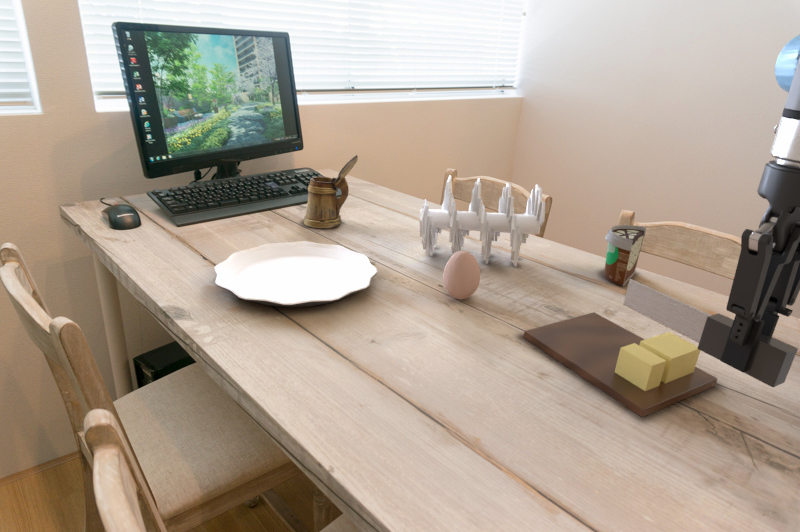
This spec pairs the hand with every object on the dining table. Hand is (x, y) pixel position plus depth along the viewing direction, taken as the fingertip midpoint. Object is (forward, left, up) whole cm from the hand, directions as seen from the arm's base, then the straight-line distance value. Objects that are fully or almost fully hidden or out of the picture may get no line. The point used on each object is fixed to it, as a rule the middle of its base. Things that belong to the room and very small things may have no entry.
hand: (740, 362), depth 62 cm
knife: (+6, 0, 0) cm, 6 cm away
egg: (+43, +8, -10) cm, 45 cm away
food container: (+39, -29, -10) cm, 50 cm away
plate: (+62, +32, -10) cm, 71 cm away
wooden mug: (+91, +13, -10) cm, 93 cm away
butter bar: (+10, -4, -8) cm, 14 cm away
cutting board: (+16, -1, -9) cm, 19 cm away
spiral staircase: (+58, -7, -10) cm, 60 cm away
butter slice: (+10, +2, -8) cm, 13 cm away
